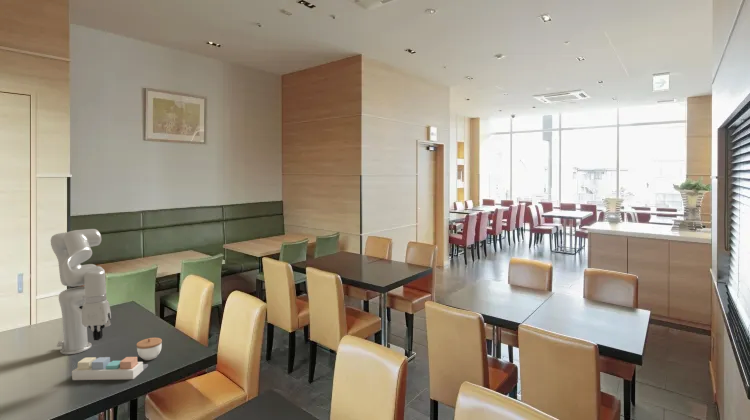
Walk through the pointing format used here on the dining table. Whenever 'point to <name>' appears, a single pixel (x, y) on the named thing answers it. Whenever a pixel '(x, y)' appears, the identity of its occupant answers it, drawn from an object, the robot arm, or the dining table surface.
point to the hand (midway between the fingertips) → (98, 339)
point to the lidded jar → (149, 348)
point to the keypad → (108, 373)
